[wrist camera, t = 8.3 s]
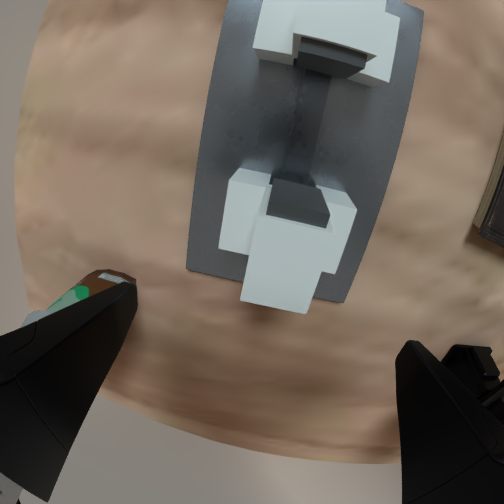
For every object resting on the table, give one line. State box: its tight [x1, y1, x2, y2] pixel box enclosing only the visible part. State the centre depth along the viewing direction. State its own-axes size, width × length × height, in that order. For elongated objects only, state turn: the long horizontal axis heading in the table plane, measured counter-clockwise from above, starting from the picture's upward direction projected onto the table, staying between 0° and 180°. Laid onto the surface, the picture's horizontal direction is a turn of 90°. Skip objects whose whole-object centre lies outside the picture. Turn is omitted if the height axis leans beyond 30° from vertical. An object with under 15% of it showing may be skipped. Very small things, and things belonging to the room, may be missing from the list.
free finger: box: [218, 168, 357, 314], centre depth 15 cm, size 5×7×8 cm
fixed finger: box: [252, 0, 400, 87], centre depth 10 cm, size 5×7×8 cm
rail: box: [186, 0, 424, 303], centre depth 16 cm, size 22×12×3 cm, turn 170°
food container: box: [21, 269, 136, 327], centre depth 21 cm, size 12×6×10 cm, turn 149°
